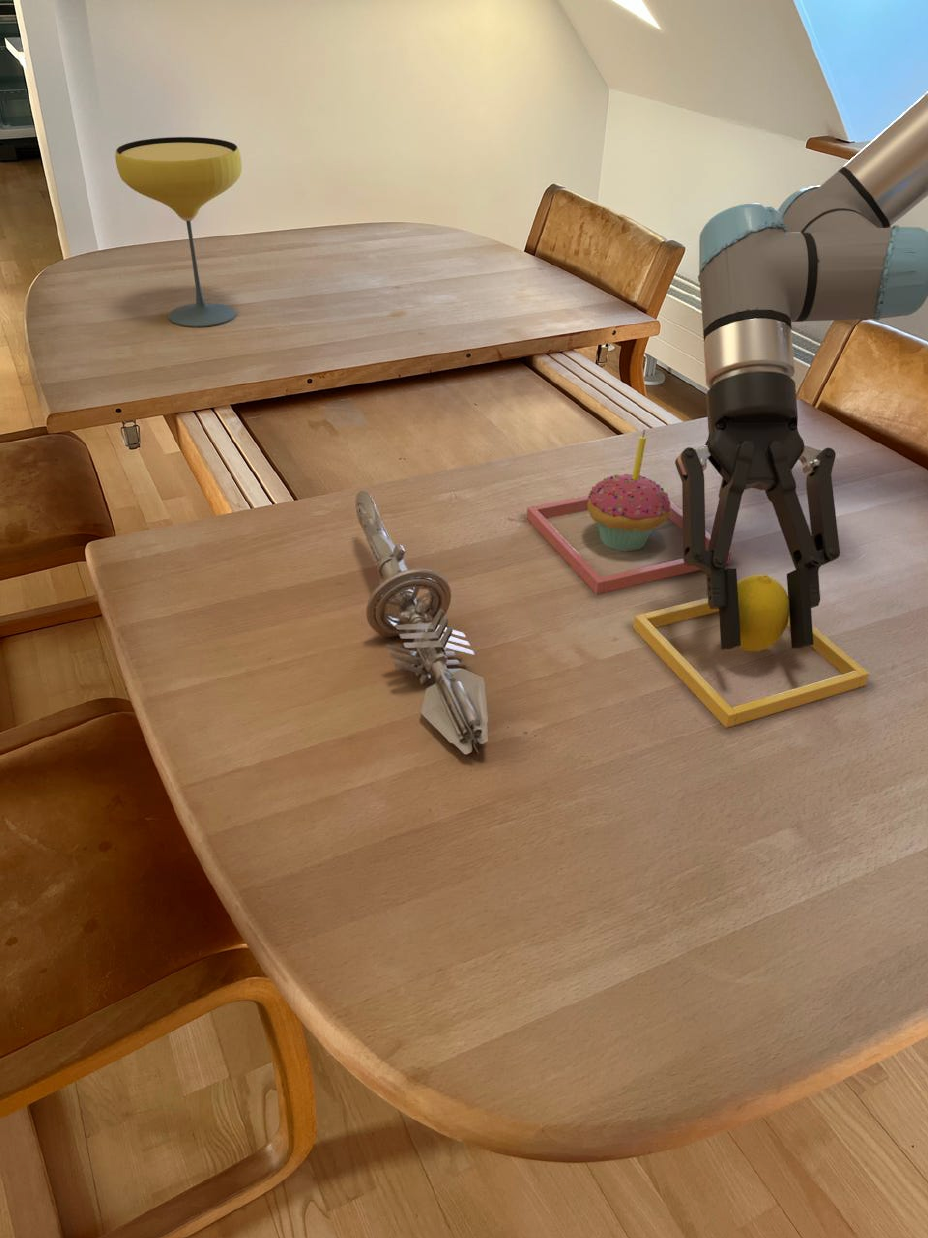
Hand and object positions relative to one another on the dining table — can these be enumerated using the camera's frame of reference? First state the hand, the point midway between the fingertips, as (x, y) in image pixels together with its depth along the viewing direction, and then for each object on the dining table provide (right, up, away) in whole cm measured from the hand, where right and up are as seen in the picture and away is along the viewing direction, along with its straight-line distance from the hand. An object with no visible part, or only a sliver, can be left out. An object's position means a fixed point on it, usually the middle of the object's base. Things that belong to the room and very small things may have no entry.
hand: (766, 646), depth 79 cm
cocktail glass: (-69, +52, +75) cm, 114 cm away
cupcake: (-8, +11, +21) cm, 25 cm away
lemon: (0, -1, +5) cm, 5 cm away
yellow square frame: (0, -1, +6) cm, 6 cm away
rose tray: (-8, +10, +21) cm, 25 cm away
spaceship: (-31, 0, +7) cm, 31 cm away
